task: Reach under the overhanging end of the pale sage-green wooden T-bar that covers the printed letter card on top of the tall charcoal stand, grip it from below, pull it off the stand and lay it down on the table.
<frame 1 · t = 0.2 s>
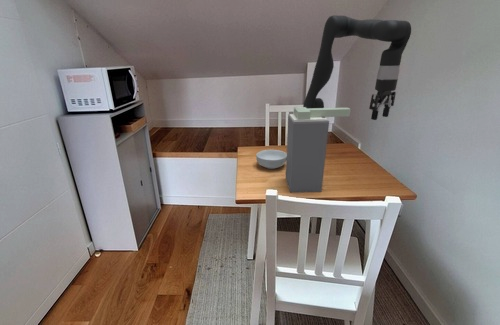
hand: (379, 118, 103), 31 cm above the table, tool pointing down, fingers open, 8 cm apart
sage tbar: (321, 116, 101), point 32 cm above the table, touching letter stand
cereal bowl: (271, 166, 135), on the table
letter stand: (302, 184, 114), on the table
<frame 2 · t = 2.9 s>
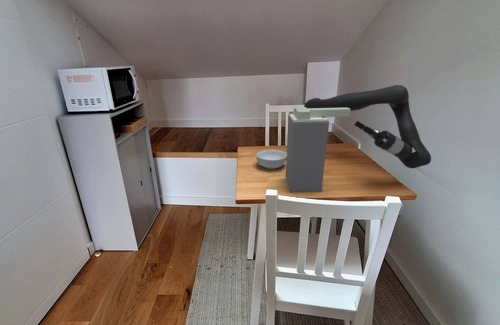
hand: (359, 125, 103), 28 cm above the table, tool pointing upward, fingers open, 8 cm apart
nothing on the table moved.
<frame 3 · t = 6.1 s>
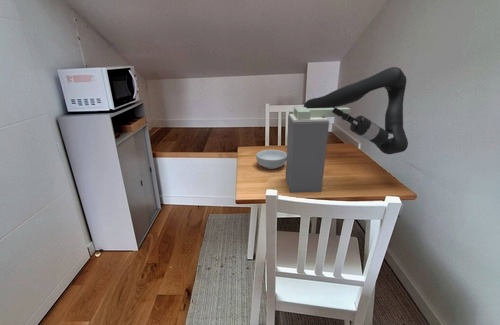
hand: (332, 108, 100), 35 cm above the table, tool pointing upward, fingers closed on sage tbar, 3 cm apart
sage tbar: (321, 116, 101), point 32 cm above the table, touching gripper, letter stand
everything else where it was.
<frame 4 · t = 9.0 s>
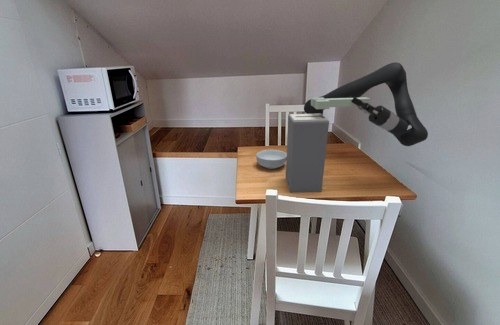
hand: (351, 98, 98), 39 cm above the table, tool pointing upward, fingers closed on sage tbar, 3 cm apart
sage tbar: (340, 106, 100), point 36 cm above the table, touching gripper
everything else where it was.
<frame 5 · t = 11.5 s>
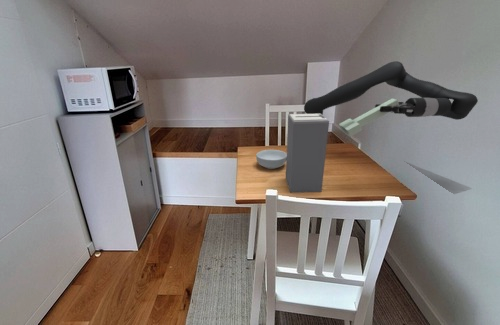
hand: (378, 108, 97), 36 cm above the table, tool horizontal, fingers closed on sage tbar, 3 cm apart
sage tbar: (370, 119, 99), point 31 cm above the table, tilted 30°, touching gripper
everything else where it was.
when the fingers open (11 cm above the table, at t = 15.8 s): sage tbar drops 7 cm, on the table.
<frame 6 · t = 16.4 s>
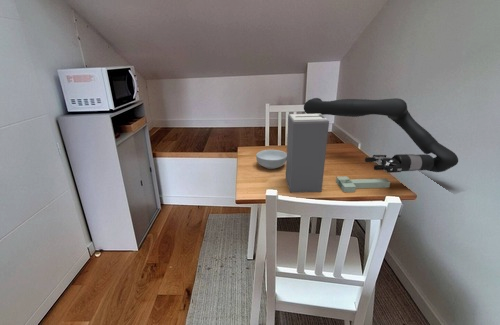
hand: (369, 163, 106), 12 cm above the table, tool horizontal, fingers open, 8 cm apart
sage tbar: (363, 186, 111), on the table
everything else where it was.
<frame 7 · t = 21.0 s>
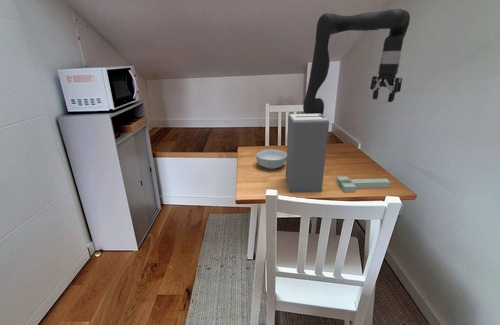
hand: (382, 100, 112), 36 cm above the table, tool pointing down, fingers open, 8 cm apart
nothing on the table moved.
at the end: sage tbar touching table; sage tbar on the table; the gripper is holding nothing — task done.
